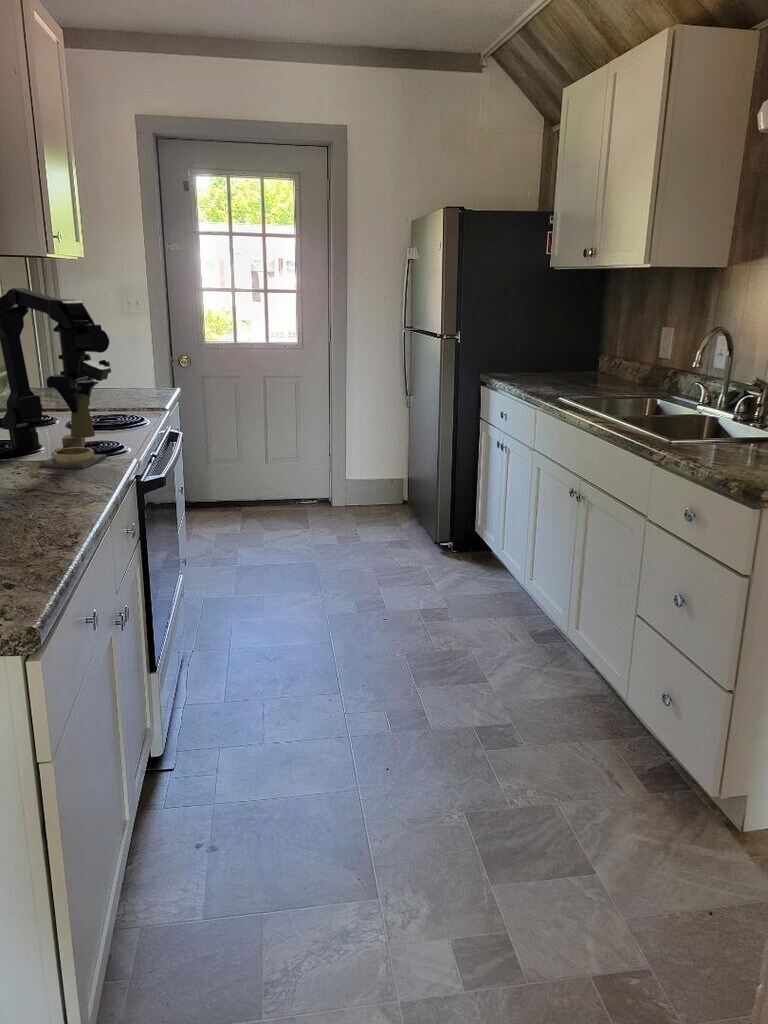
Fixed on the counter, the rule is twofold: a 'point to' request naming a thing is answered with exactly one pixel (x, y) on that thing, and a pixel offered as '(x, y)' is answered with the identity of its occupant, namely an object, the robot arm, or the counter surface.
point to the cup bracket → (73, 458)
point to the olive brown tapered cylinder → (82, 419)
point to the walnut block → (72, 442)
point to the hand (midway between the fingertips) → (80, 411)
